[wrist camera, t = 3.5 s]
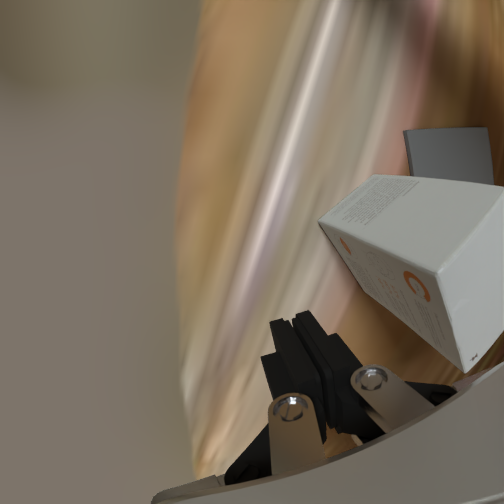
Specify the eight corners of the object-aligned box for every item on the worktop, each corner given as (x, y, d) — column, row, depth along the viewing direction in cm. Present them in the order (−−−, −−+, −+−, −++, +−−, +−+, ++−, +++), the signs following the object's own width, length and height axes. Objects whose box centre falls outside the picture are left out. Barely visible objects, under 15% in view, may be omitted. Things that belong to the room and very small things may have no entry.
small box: (413, 246, 24) (526, 300, 11) (363, 292, 24) (464, 378, 12) (373, 170, 21) (510, 184, 9) (314, 219, 22) (434, 278, 9)
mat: (403, 130, 21) (406, 130, 20) (484, 127, 22) (487, 127, 21) (417, 300, 25) (420, 302, 25) (490, 263, 26) (493, 264, 26)
